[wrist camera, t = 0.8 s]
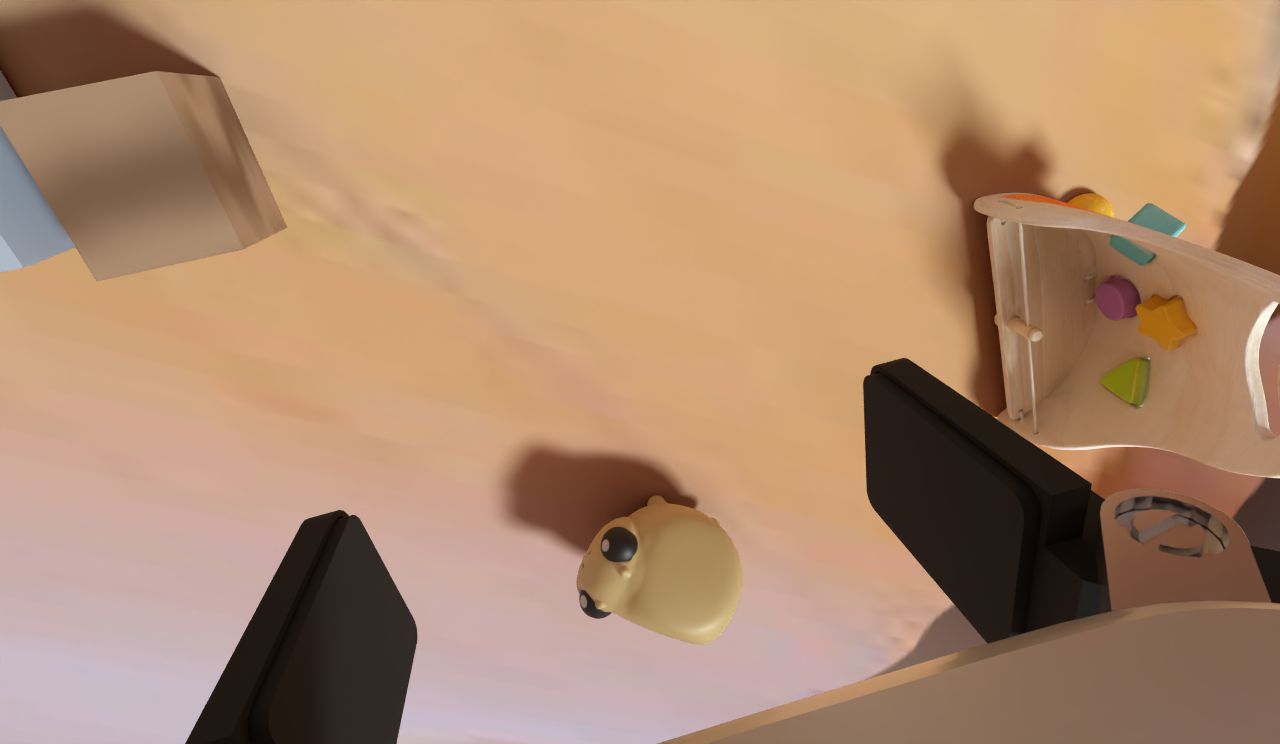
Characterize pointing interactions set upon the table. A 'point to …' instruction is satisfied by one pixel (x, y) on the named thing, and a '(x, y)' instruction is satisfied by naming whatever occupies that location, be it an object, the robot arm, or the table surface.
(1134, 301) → the shape sorter
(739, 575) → the yellow animal figurine
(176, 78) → the tan block
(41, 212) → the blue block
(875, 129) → the table surface
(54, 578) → the table surface
